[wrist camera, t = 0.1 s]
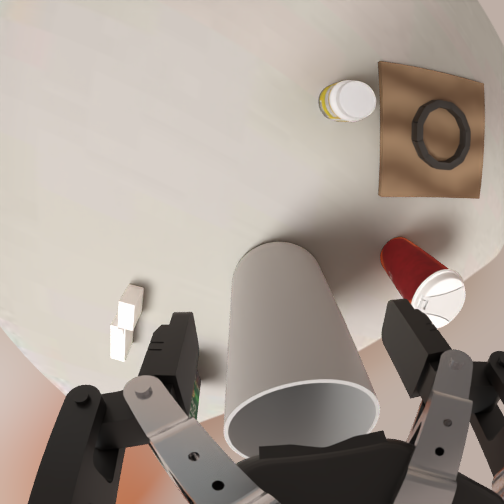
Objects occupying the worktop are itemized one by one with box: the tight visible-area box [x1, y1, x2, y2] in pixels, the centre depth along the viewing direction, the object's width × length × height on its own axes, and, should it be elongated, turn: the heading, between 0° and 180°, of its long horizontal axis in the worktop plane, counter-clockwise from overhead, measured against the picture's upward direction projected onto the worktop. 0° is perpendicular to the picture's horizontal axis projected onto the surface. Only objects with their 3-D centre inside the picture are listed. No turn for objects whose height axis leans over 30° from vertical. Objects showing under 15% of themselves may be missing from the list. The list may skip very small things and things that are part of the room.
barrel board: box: [378, 61, 485, 199], centre depth 35 cm, size 18×18×2 cm
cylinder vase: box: [224, 242, 380, 459], centre depth 33 cm, size 12×12×25 cm
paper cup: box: [380, 237, 466, 328], centre depth 37 cm, size 8×8×14 cm
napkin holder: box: [111, 284, 144, 362], centre depth 45 cm, size 15×11×6 cm
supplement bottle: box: [318, 80, 376, 122], centre depth 31 cm, size 5×5×8 cm
